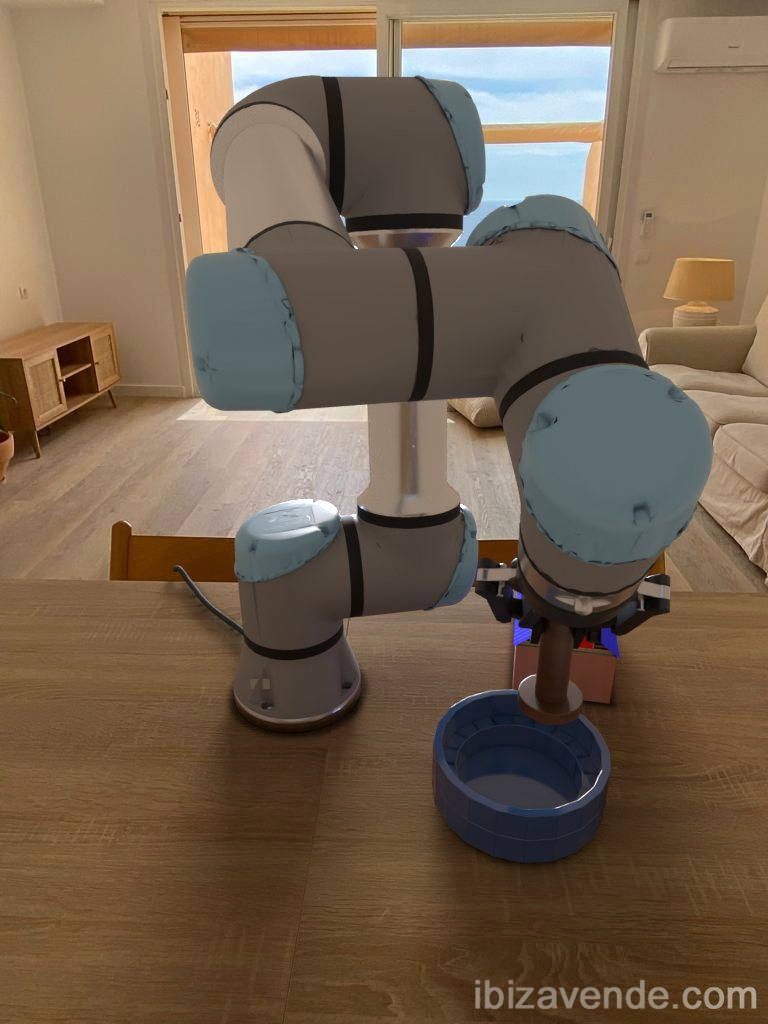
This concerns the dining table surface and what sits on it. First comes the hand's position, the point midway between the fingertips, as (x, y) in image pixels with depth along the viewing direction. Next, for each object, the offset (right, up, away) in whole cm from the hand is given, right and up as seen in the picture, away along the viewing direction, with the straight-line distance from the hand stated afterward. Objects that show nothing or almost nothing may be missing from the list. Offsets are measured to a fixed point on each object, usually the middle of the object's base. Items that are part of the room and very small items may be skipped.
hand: (554, 631), depth 63 cm
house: (+8, -7, +28) cm, 30 cm away
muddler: (-1, -6, -1) cm, 6 cm away
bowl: (-2, -18, +6) cm, 19 cm away
